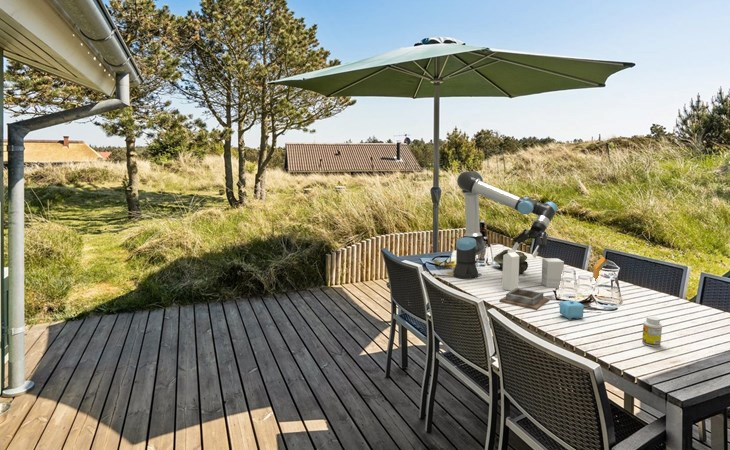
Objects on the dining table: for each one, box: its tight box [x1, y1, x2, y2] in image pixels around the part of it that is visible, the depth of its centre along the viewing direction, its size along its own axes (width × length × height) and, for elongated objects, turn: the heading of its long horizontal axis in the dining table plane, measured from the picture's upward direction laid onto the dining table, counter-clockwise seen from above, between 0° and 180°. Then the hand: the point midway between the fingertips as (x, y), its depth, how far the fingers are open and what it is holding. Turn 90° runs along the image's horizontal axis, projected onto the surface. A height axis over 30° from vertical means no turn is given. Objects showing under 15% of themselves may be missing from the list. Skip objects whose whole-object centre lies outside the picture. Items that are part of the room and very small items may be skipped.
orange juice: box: [592, 255, 610, 281], centre depth 206 cm, size 8×9×20 cm
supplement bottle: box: [641, 315, 663, 348], centre depth 147 cm, size 6×6×10 cm
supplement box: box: [540, 257, 565, 288], centre depth 224 cm, size 9×9×15 cm
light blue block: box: [556, 300, 585, 320], centre depth 175 cm, size 12×6×8 cm, turn 96°
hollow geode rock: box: [493, 248, 529, 275], centre depth 258 cm, size 28×13×15 cm
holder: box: [499, 287, 550, 311], centre depth 197 cm, size 18×18×4 cm
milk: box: [501, 249, 520, 292], centre depth 217 cm, size 6×6×22 cm
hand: (522, 254), depth 220 cm, fingers open, 13 cm apart
